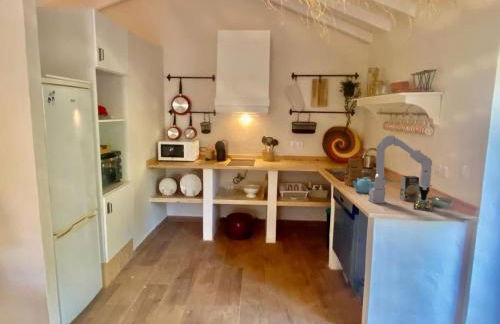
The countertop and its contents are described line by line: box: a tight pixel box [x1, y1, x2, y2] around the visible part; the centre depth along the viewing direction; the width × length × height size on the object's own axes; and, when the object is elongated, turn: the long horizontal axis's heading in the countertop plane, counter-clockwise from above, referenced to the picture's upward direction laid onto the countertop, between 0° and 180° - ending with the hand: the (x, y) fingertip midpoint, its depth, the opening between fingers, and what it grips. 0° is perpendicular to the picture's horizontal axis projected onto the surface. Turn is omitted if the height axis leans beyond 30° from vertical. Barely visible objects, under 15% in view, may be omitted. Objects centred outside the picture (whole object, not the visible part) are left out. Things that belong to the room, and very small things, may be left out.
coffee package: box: [344, 157, 363, 187], centre depth 264 cm, size 10×12×22 cm
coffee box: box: [399, 175, 420, 202], centre depth 221 cm, size 9×6×16 cm
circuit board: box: [415, 194, 430, 205], centre depth 203 cm, size 10×7×4 cm
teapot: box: [353, 177, 374, 195], centre depth 243 cm, size 15×15×11 cm
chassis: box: [412, 201, 433, 212], centre depth 203 cm, size 13×10×4 cm
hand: (423, 199), depth 203 cm, fingers closed on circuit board, 4 cm apart
